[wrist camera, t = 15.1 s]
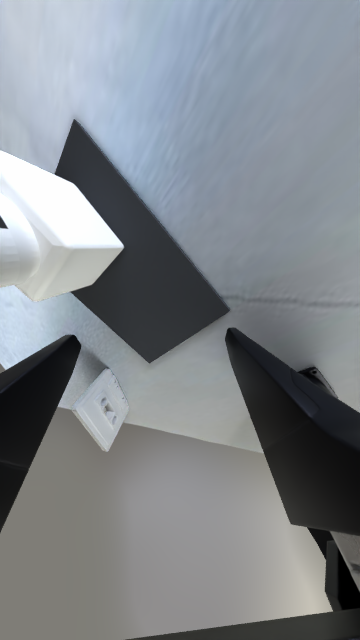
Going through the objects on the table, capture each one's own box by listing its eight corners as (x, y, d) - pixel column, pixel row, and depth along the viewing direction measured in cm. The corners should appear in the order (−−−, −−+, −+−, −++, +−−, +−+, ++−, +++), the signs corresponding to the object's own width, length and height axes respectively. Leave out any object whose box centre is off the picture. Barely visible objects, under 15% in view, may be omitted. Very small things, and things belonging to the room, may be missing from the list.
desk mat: (229, 308, 17) (230, 310, 17) (150, 361, 24) (149, 363, 23) (79, 123, 12) (73, 118, 12) (31, 252, 19) (26, 252, 18)
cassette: (131, 409, 31) (110, 453, 25) (124, 408, 32) (101, 451, 25) (111, 367, 26) (77, 408, 20) (103, 367, 27) (67, 407, 20)
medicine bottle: (46, 236, 17) (-225, 218, 6) (74, 182, 14) (-348, -17, 3) (92, 285, 19) (-60, 335, 8) (126, 247, 16) (-45, 247, 5)
